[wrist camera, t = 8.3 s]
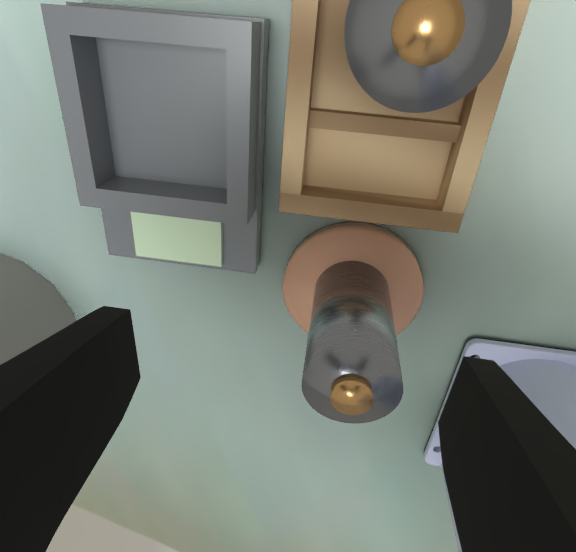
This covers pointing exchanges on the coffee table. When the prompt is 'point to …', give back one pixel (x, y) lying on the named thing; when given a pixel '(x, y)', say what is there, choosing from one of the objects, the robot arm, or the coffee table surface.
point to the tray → (377, 134)
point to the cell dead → (352, 346)
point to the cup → (27, 308)
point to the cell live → (423, 48)
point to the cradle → (165, 128)
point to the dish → (354, 247)
